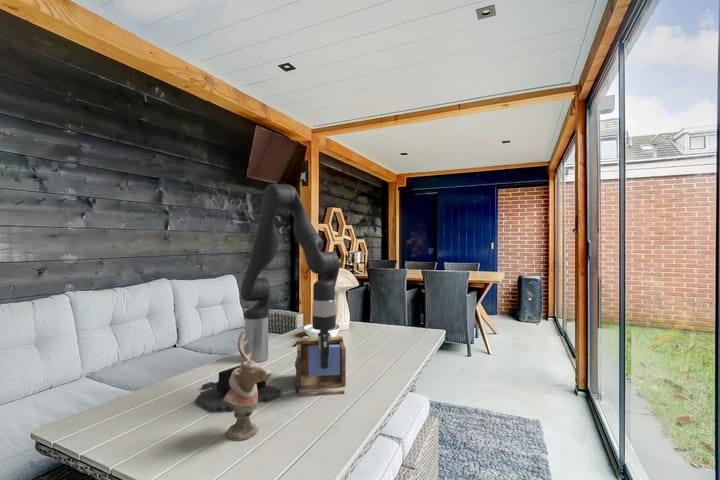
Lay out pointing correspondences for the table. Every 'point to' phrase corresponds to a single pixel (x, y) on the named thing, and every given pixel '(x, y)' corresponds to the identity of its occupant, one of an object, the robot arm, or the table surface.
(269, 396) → the abstract sculpture
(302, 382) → the cabinet
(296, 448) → the table surface
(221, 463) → the table surface
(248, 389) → the decorative bust
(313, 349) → the blue rectangular block
